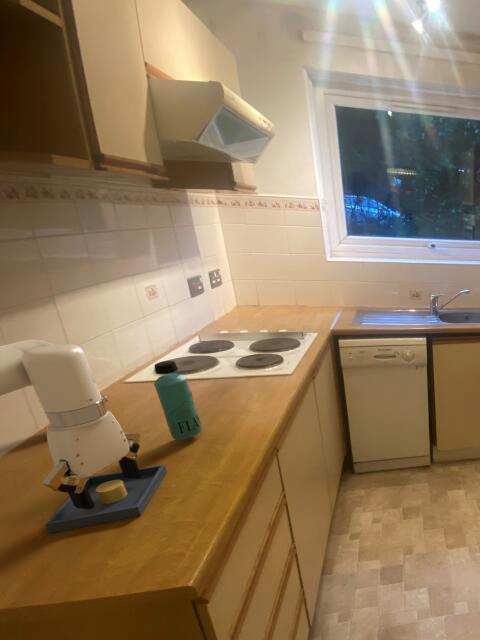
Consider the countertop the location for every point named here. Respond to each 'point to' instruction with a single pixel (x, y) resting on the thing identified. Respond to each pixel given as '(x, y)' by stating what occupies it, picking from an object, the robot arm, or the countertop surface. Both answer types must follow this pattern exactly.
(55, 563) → the countertop surface
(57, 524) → the tray
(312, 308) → the countertop surface
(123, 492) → the cap
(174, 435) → the beverage bottle
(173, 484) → the countertop surface
